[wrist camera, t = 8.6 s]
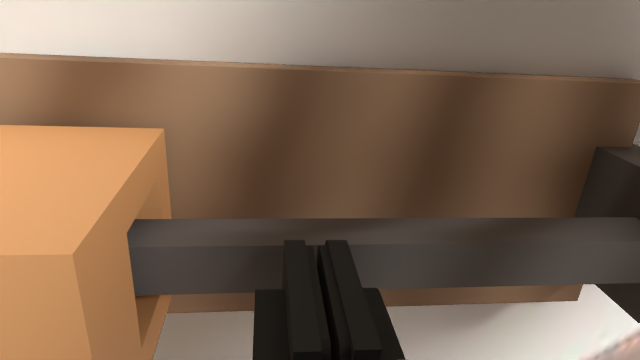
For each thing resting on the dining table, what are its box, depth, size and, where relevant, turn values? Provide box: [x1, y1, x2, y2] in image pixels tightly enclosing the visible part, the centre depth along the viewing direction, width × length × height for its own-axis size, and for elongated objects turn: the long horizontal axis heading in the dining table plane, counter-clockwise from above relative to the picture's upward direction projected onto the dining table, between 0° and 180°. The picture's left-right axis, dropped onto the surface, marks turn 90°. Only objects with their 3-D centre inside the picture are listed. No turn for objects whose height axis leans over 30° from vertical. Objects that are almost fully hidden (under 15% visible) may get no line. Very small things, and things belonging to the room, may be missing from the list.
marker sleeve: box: [0, 125, 172, 360], centre depth 12 cm, size 5×6×8 cm
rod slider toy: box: [0, 53, 640, 323], centre depth 14 cm, size 28×10×7 cm, turn 87°
